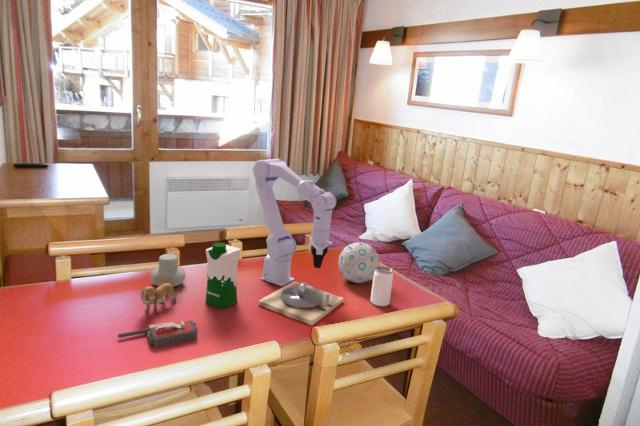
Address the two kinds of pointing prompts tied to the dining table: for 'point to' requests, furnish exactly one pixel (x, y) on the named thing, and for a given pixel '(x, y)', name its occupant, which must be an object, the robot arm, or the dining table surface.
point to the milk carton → (222, 275)
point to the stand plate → (302, 315)
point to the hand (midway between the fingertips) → (317, 267)
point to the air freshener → (168, 271)
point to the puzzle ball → (358, 262)
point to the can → (381, 286)
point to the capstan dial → (304, 297)
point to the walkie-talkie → (167, 333)
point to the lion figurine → (156, 295)
